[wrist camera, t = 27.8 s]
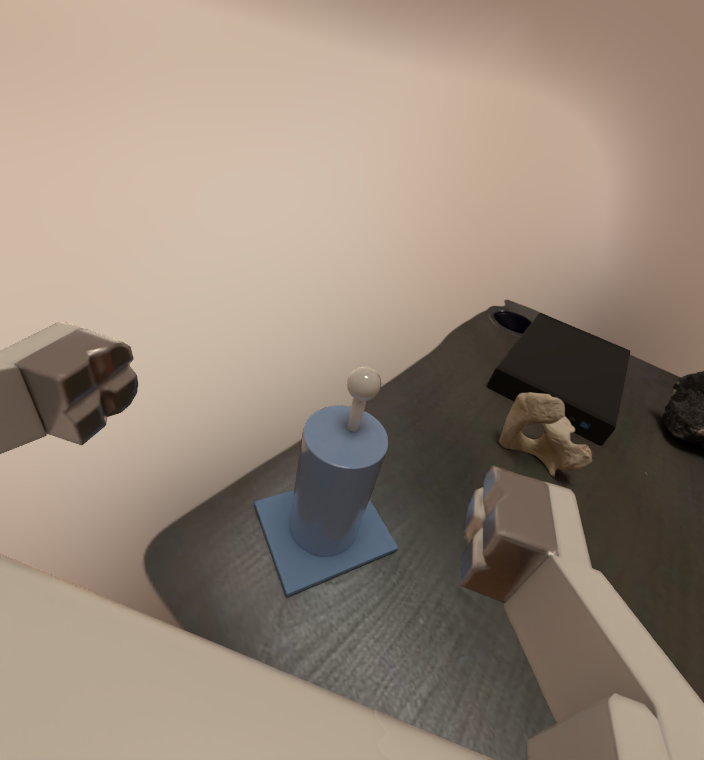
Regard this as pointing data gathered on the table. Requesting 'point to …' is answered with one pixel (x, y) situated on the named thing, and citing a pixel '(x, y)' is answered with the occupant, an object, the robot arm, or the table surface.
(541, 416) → the bone
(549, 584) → the robot arm
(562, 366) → the external hard drive
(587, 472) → the table surface
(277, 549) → the blue mat
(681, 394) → the rock
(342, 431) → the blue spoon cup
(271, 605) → the table surface
